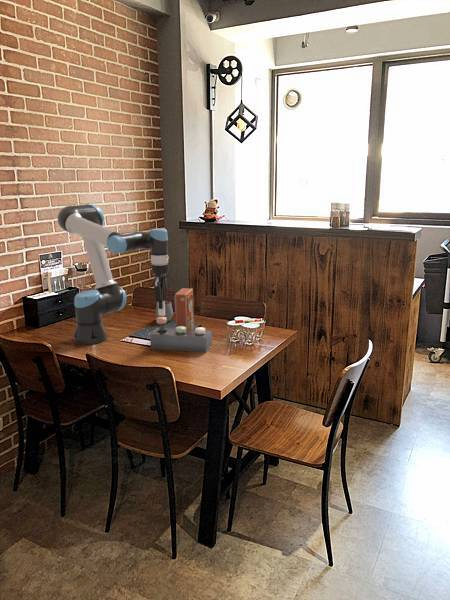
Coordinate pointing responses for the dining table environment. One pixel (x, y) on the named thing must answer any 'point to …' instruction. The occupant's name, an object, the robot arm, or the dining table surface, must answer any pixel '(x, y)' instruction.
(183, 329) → the knob mid
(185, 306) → the orange cardboard box
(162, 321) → the knob
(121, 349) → the dining table surface
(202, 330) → the knob
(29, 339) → the dining table surface
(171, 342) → the mount
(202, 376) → the dining table surface
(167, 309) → the cup
